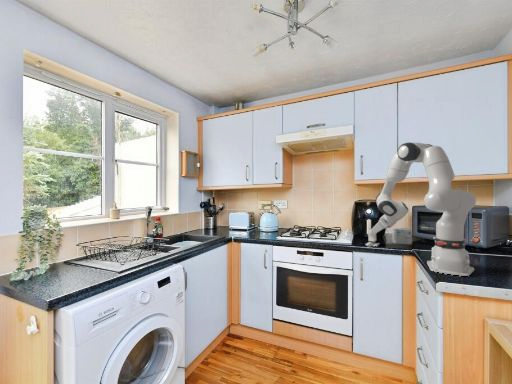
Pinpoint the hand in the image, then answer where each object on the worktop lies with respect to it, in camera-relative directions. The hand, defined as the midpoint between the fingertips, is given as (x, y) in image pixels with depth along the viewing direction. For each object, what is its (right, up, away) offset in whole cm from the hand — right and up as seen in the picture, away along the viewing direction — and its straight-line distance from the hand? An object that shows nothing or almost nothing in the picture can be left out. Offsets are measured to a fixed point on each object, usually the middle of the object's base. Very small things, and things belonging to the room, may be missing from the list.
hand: (371, 234), depth 174 cm
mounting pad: (+1, -7, 0) cm, 7 cm away
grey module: (+1, -5, 0) cm, 5 cm away
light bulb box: (+23, -7, +3) cm, 25 cm away
